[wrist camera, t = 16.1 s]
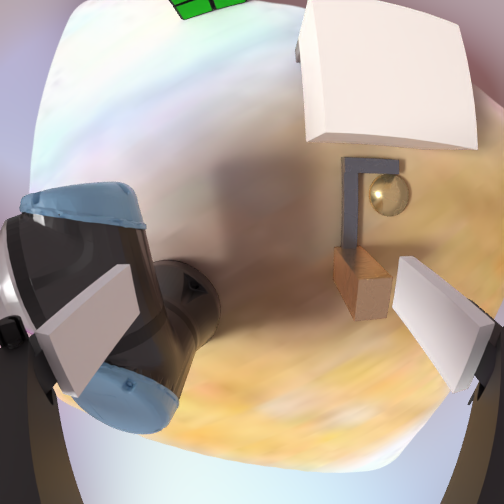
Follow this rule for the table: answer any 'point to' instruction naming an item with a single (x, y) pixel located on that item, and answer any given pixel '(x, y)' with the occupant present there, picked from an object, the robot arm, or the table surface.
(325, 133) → the cabinet
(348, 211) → the hook tool
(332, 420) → the table surface
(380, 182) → the brass token
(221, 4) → the puzzle cube
